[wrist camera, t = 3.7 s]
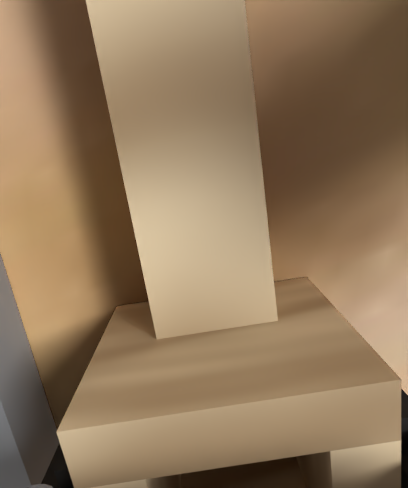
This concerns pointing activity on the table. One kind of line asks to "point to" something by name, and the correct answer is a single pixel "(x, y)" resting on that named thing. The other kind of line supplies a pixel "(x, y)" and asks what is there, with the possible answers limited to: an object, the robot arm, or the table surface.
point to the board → (21, 402)
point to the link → (214, 290)
